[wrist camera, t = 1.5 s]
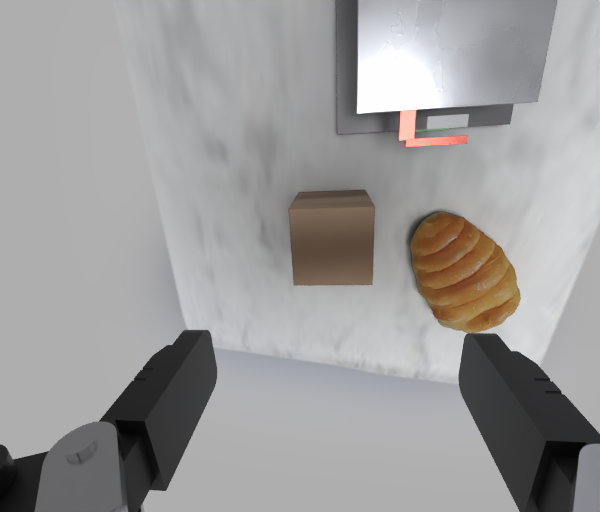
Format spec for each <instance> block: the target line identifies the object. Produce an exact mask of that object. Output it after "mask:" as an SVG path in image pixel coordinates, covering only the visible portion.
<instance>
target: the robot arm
mask: <svg viewBox="0 0 600 512" xmlns="http://www.w3.org/2000/svg"><path fill="white" fill-rule="evenodd" d="M216 379H217V366H216V360H215V355H214V350H213V344H212V338H211V334H210V332H209V331H208V330H184V331H183V332H182V333H181V334H180V336H179V337H178V339H176V341H175V342H174V343H173V345H167V346H166V347H164V348H163V349H161V350H160V351H159V352H157V353H156V354H154V355H153V356H152V357H151V358H150V360H149V361H148V362H147V363H146V365H145V366H144V367H143V370H141V371H140V372H139V373H138V374H137V376H136V377H135V378H134V381H132V382H131V383H130V384H129V385H128V387H127V388H126V389H125V390H124V392H123V393H122V394H121V395H120V396H119V398H118V399H117V400H116V401H115V402H114V404H113V405H112V406H111V407H110V408H109V410H108V411H107V412H106V414H105V415H104V416H103V417H102V418H101V420H100V421H99V422H93V423H89V424H86V425H83V426H81V427H79V428H77V429H75V430H73V431H71V432H70V433H68V434H67V435H65V436H64V437H63V438H61V439H60V440H59V441H58V442H57V443H56V444H55V445H54V446H53V447H52V448H51V449H50V451H48V452H44V453H40V454H35V455H31V456H27V457H23V458H19V459H14V460H13V459H12V457H11V456H10V454H9V452H8V450H7V448H6V447H5V446H3V445H0V512H144V508H143V504H142V503H143V501H144V499H145V497H146V495H147V493H148V492H149V490H160V491H166V490H167V488H168V485H169V483H170V481H171V479H172V477H173V475H174V473H175V470H176V468H177V466H178V464H179V462H180V460H181V458H182V456H183V453H184V451H185V449H186V447H187V445H188V443H189V440H190V439H191V436H192V434H193V432H194V430H195V428H196V426H197V424H198V422H199V419H200V417H201V415H202V413H203V411H204V409H205V407H206V405H207V402H208V400H209V398H210V396H211V394H212V392H213V389H214V387H215V384H216ZM459 386H460V391H461V394H462V396H463V399H464V401H465V403H466V405H467V407H468V409H469V411H470V413H471V415H472V416H473V419H474V421H475V423H476V425H477V427H478V429H479V431H480V433H481V435H482V437H483V439H484V441H485V443H486V445H487V447H488V449H489V451H490V453H491V455H492V457H493V459H494V461H495V463H496V465H497V467H498V469H499V471H500V473H501V475H502V477H503V479H504V481H505V483H506V485H507V487H508V489H509V491H510V493H511V495H512V497H513V499H514V501H515V503H516V505H517V507H518V509H519V511H520V512H600V434H599V433H598V432H597V431H596V429H595V428H594V427H593V426H592V425H591V424H590V423H589V422H588V421H587V419H586V418H585V417H584V416H583V415H582V414H581V413H580V412H579V411H578V410H577V408H576V407H575V406H574V405H573V404H572V403H571V402H570V401H569V399H568V398H567V397H566V396H565V395H562V393H561V391H560V389H559V388H558V387H557V386H556V385H555V384H554V383H553V382H551V381H550V378H549V377H548V376H547V375H546V374H545V373H544V371H543V370H542V369H541V368H540V367H539V366H538V365H537V364H536V363H535V362H533V361H532V360H530V359H529V358H527V357H525V356H524V355H522V354H521V353H519V352H517V351H511V350H510V349H509V348H508V347H507V346H506V344H505V343H504V342H503V341H502V340H501V338H500V337H499V336H498V335H497V334H481V333H468V334H466V336H465V338H464V344H463V350H462V357H461V363H460V370H459Z"/></svg>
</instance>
